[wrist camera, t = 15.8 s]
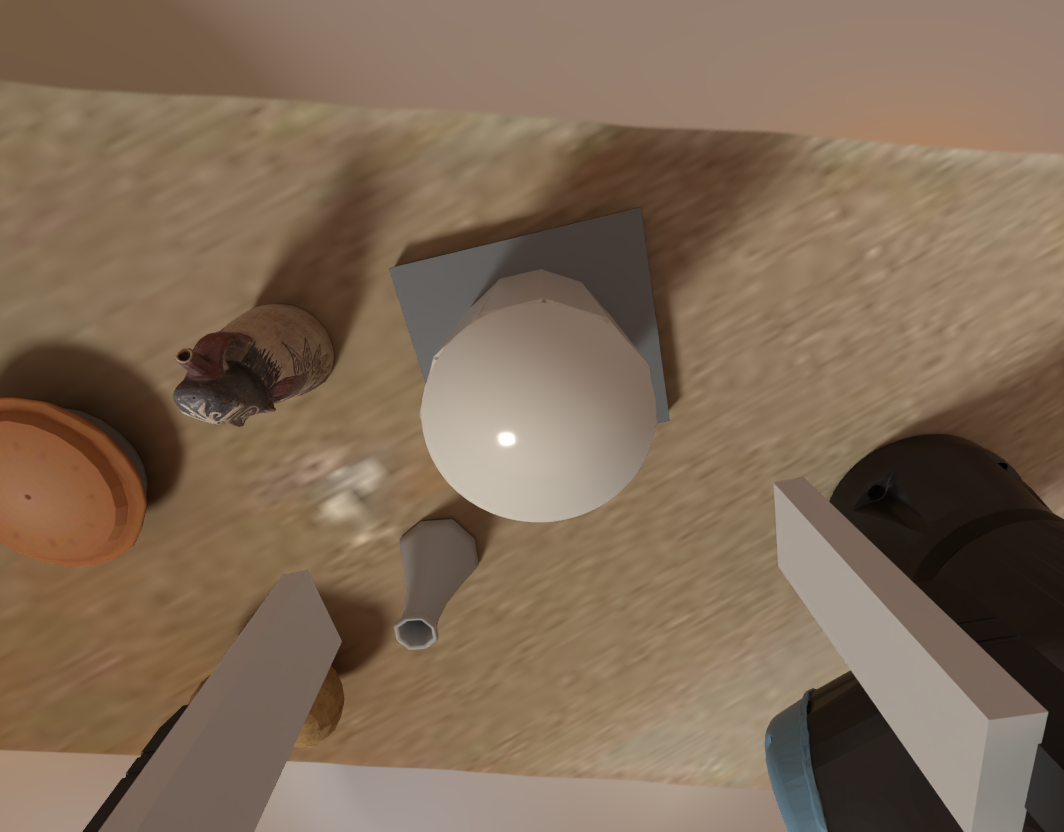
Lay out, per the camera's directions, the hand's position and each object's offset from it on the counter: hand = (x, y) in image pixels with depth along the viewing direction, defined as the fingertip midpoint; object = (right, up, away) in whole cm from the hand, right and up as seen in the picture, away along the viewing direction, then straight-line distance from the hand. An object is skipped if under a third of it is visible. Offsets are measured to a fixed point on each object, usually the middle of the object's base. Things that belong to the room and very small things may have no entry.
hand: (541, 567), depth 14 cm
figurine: (-19, +10, +25) cm, 33 cm away
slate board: (0, +10, +25) cm, 27 cm away
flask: (-9, -8, +32) cm, 34 cm away
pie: (-39, 0, +29) cm, 49 cm away
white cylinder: (0, +9, +23) cm, 25 cm away
